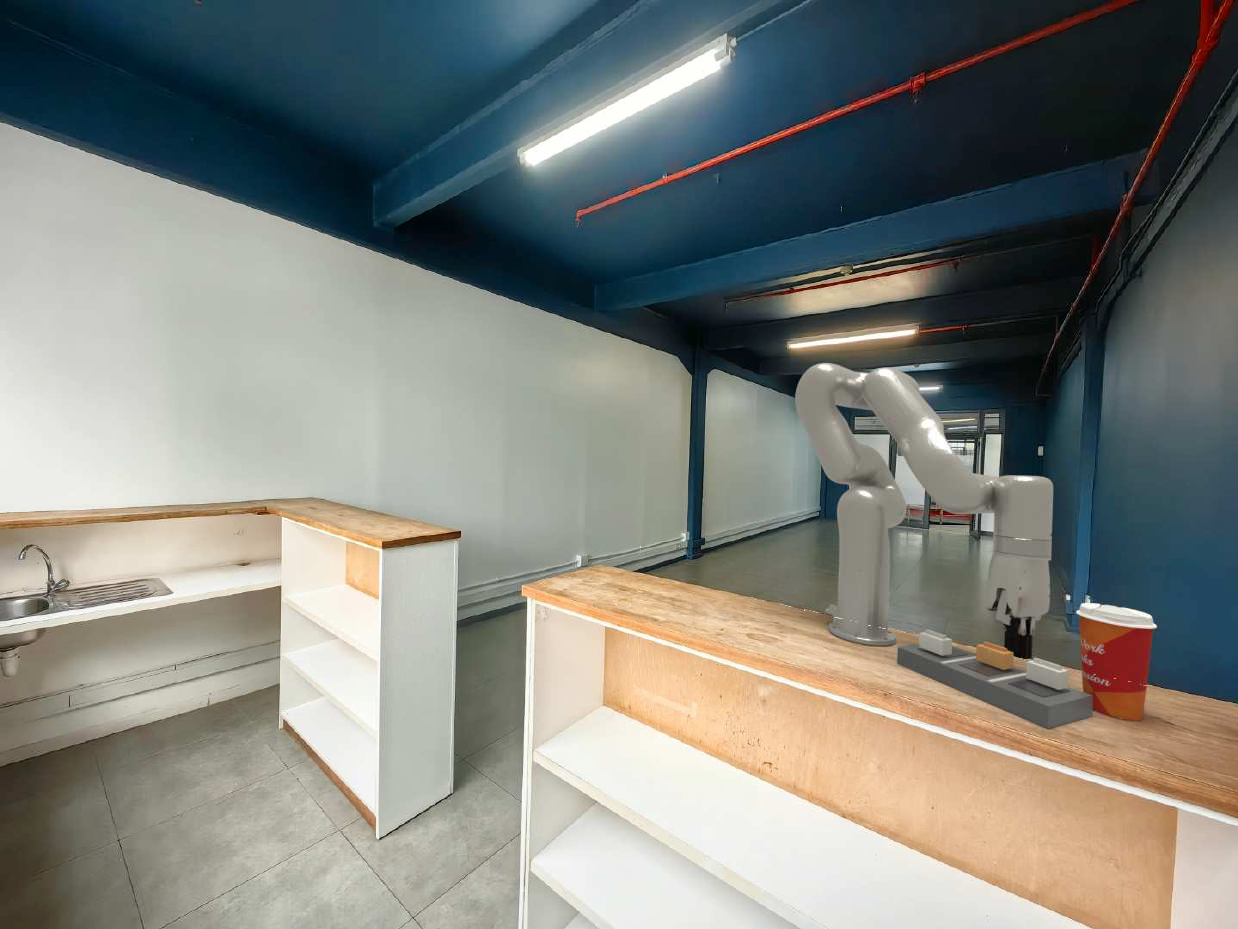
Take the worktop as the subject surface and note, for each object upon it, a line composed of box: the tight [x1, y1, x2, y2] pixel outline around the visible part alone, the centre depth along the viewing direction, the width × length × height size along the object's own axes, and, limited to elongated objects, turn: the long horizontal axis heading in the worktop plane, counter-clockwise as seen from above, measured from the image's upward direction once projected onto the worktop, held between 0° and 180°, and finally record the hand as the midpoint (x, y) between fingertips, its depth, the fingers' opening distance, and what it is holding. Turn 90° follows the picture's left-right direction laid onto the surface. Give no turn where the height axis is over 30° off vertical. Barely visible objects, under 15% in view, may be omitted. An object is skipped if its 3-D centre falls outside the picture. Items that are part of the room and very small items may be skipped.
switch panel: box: [896, 643, 1093, 730], centre depth 75 cm, size 22×11×3 cm, turn 22°
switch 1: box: [918, 629, 953, 656], centre depth 81 cm, size 4×2×3 cm, turn 22°
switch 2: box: [975, 641, 1014, 670], centre depth 76 cm, size 4×2×3 cm, turn 22°
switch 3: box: [1025, 657, 1070, 690], centre depth 69 cm, size 4×2×3 cm, turn 22°
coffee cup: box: [1075, 602, 1158, 722], centre depth 69 cm, size 8×8×15 cm
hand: (1017, 656), depth 78 cm, fingers closed
